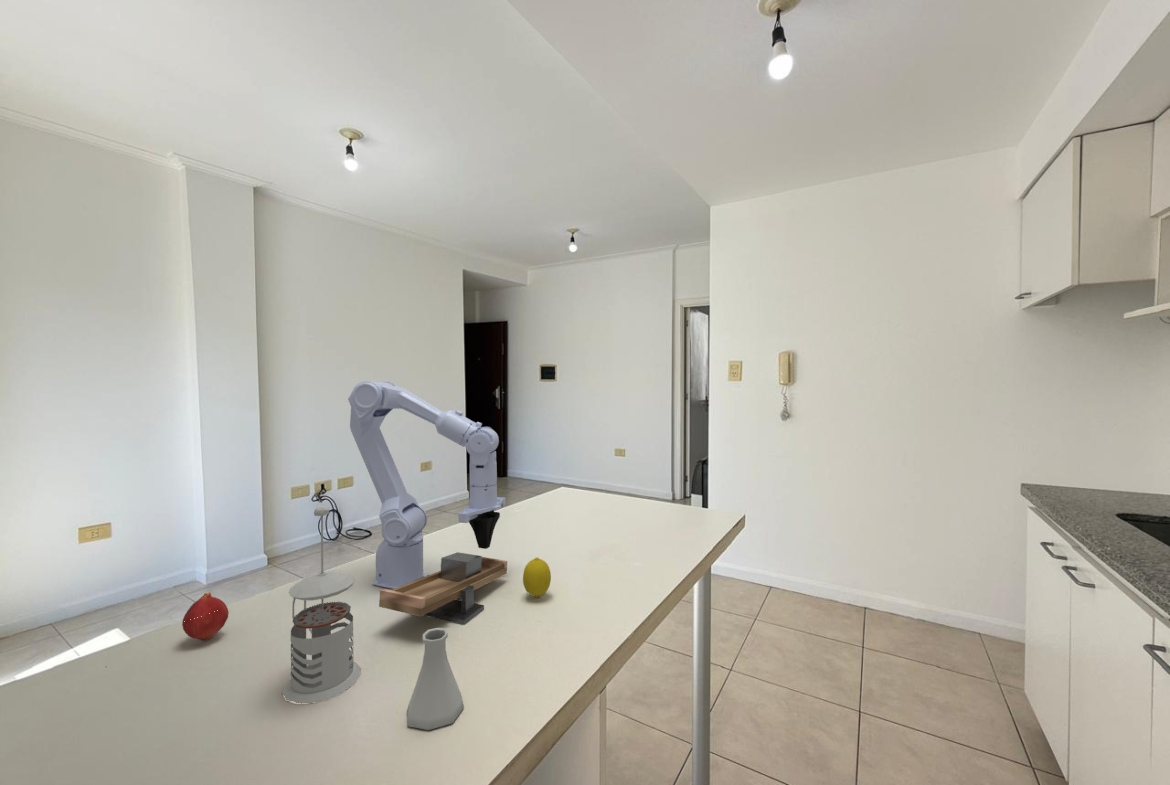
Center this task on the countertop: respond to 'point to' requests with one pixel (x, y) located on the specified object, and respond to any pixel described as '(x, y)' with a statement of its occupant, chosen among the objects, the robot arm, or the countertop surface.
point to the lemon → (536, 577)
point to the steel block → (460, 566)
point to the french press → (321, 637)
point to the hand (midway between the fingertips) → (484, 547)
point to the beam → (437, 589)
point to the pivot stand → (458, 608)
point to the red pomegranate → (205, 617)
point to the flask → (434, 686)
